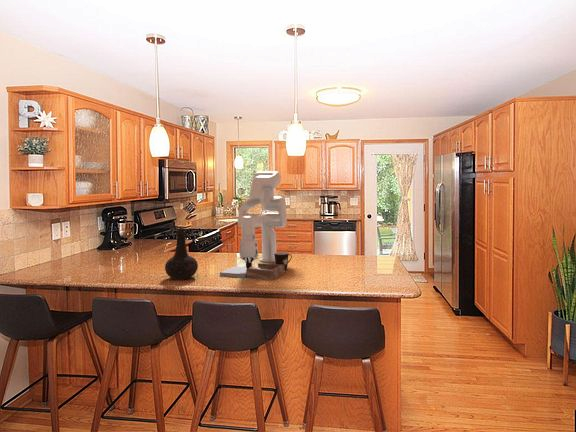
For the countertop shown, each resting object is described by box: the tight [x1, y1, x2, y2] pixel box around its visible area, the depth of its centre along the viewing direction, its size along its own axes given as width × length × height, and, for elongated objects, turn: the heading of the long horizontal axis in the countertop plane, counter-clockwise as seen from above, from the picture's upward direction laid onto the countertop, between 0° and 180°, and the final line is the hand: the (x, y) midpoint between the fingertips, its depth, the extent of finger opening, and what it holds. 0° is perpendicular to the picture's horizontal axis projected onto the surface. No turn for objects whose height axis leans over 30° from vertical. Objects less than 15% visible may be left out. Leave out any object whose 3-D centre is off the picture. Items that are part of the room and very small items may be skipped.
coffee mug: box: [274, 251, 293, 272], centre depth 271 cm, size 12×9×10 cm
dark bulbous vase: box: [164, 227, 199, 280], centre depth 252 cm, size 18×18×28 cm
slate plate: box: [219, 265, 247, 279], centre depth 263 cm, size 18×16×2 cm
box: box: [245, 262, 285, 281], centre depth 257 cm, size 17×16×5 cm
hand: (249, 269), depth 261 cm, fingers closed
